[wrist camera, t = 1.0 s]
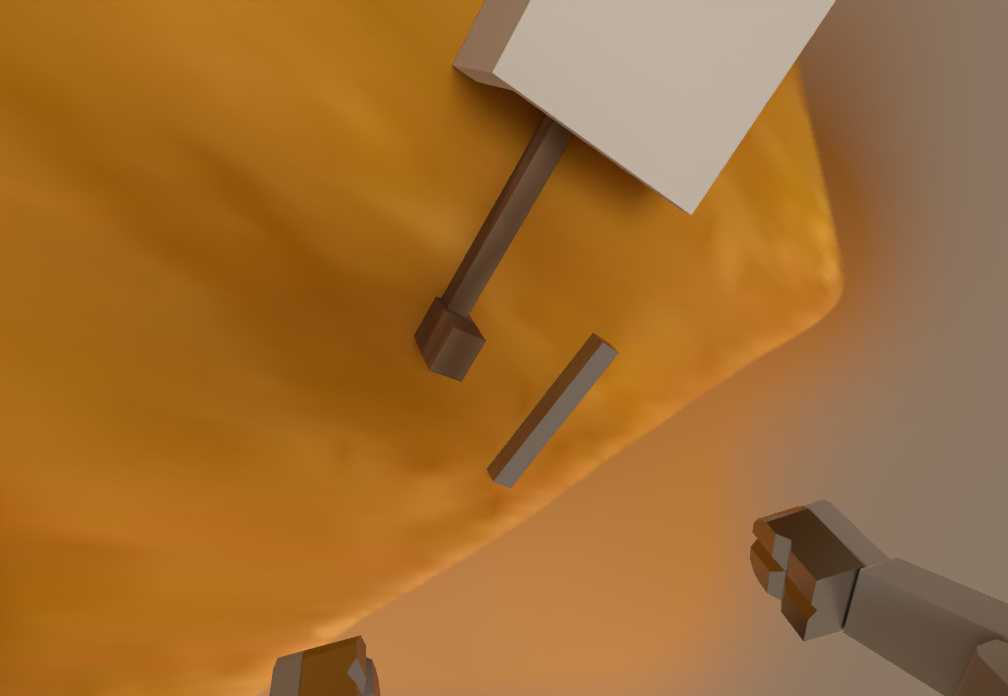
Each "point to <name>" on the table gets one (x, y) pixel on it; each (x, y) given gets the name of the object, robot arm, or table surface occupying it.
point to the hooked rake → (487, 258)
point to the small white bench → (645, 75)
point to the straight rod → (552, 410)
